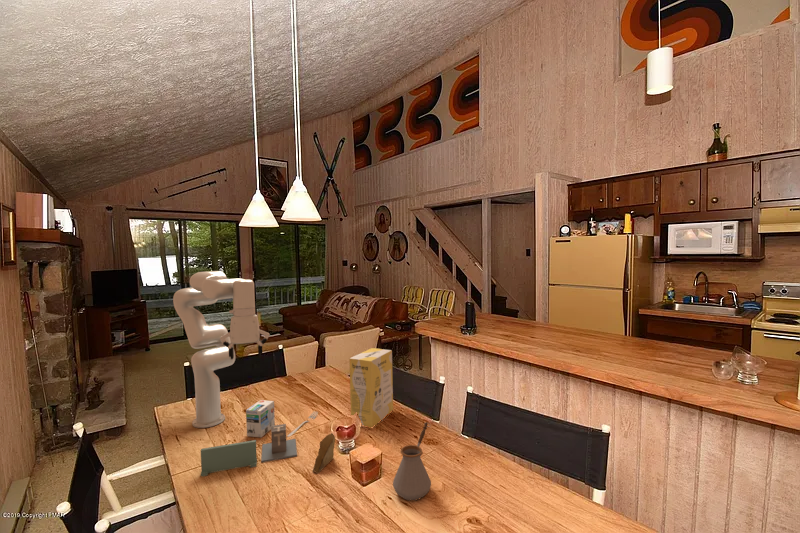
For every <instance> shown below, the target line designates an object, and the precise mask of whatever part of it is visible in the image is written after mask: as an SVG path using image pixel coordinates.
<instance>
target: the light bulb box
mask: <svg viewBox="0 0 800 533" xmlns="http://www.w3.org/2000/svg"><path fill="white" fill-rule="evenodd" d="M245 416H246V418H245V419H246V420H245V422H246V437H253V438H262V437H264V436H265V435H266V434H267V433H268V432H270V431H271V428H272V426H274V425H275V423H276V422H275V419H276V418H275V401H274V400H264V399H260V400H258V401H257V402H255V403H254V404H252V405H251V406H250V407H248V408H247V409H246V410H245Z"/></svg>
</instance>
